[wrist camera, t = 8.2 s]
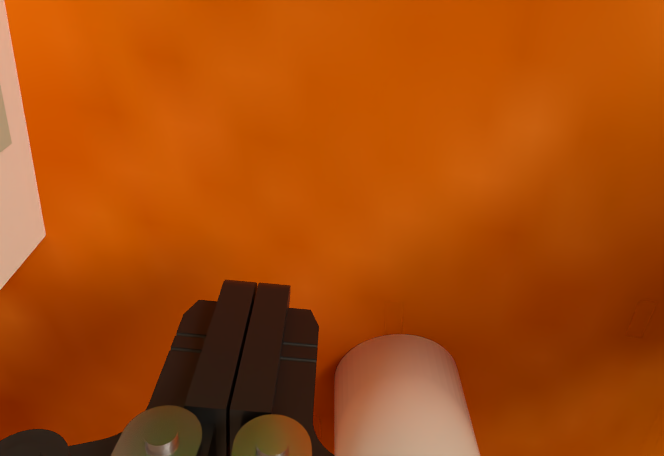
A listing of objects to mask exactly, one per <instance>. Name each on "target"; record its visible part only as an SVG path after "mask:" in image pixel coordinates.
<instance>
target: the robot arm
mask: <svg viewBox="0 0 664 456" xmlns="http://www.w3.org/2000/svg"><path fill="white" fill-rule="evenodd" d="M289 301H290V285H279V284H268V283H259V284H258V288H257V283H256V282H245V281H234V280H225V281H224V283H223V285H222V289H221V292H220V295H219V298H218V301H217V302H216V301H205V300H198V301H197V302H196V303H195V304H194V305H193V306H192V307H191V308H190V309H189V310H188V311H187V312H186V313H185V314H184V315H183V317H182V320H181V322H180V325H179V328H178V330H177V335H176V336H175V338H174V340H173V343H172V346H171V350H170V351H169V353H168V356H167V358H166V361H165V364H164V366H163V369H162V371H161V374H160V377H159V379H158V382H157V384H156V387H155V389H154V392H153V395H152V397H151V400H150V402H149V405H148V407H147V409H146V411H144V412H142V413H140V414H139V415H137V416H136V417H135V418H134V419H132V420H131V421H130V422H129V424H128V425H127V426H126V427H125V429H124V431H123V432H121V433H119V434H117V435H115V436H112V437H110V438H106V439H102V440H98V441H93V442H88V443H83V444H78V445H73V446H67V443H66V442H65V440H64V439H63V438H62V437H61V436H60V435H59V434H57V433H55V432H53V431H49V430H44V429H32V430H26V431H22V432H18V433H16V434H13V435H11V436H9V437H7V438H5V439H3V440H1V441H0V456H335V455H333V454H332V453H330V452H329V451H328V450H327V449H326V448H324V446H323V445H322V444H321V443H320V441H319V440H318V438H317V436H316V434H315V431H314V427H313V407H314V392H315V377H316V361H317V346H318V332H319V326H318V324H317V322H316V320H315V318H314V316H313V314H312V312H311V310H306V309H295V308H289Z"/></svg>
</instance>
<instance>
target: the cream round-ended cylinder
mask: <svg viewBox="0 0 664 456" xmlns="http://www.w3.org/2000/svg"><path fill="white" fill-rule="evenodd" d="M334 443H335V456H480V453H479V449H478V446H477V442H476V438H475V434H474V430H473V427H472V423H471V419H470V415H469V411H468V408H467V404H466V400H465V396H464V392H463V389H462V385H461V381H460V377H459V373H458V370H457V366H456V363H455V361H454V359H453V357H452V356H451V355H450V353H449V352H448V351H447V350H446V349H444V348H443V347H442V346H440V345H439V344H437V343H436V342H434V341H432V340H429V339H426V338H424V337H420V336H415V335H408V334H392V335H385V336H380V337H376V338H372V339H370V340H367V341H365V342H363V343H361V344H359V345H357V346H356V347H354V348H353V349H351V350H350V351H349V352H348V353H347V354H346V355H345V356H344V357H343V358H342V359H341V361H340V362H339V364H338V366H337V368H336V372H335V377H334Z"/></svg>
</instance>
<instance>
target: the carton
mask: <svg viewBox="0 0 664 456" xmlns="http://www.w3.org/2000/svg"><path fill="white" fill-rule="evenodd" d="M45 236H46V234H45V228H44V223H43V217H42V211H41V206H40V200H39V194H38V189H37V183H36V177H35V172H34V166H33V161H32V155H31V149H30V144H29V138H28V132H27V127H26V121H25V115H24V110H23V104H22V98H21V93H20V87H19V82H18V76H17V70H16V65H15V59H14V53H13V48H12V42H11V36H10V31H9V25H8V20H7V14H6V8H5V3H4V0H0V290H1V288H2V287H3V286H4V285H5V284H6V282H7V281H8V280H9V279H10V278H11V276H12V275H13V274H14V273H15V272H16V270H17V269H18V268H19V267H20V266H21V264H22V263H23V262H24V261H25V260H26V258H27V257H28V256H29V255H30V254H31V252H32V251H33V250H34V249H35V248H36V246H37V245H38V244H39V243H40V242H41V240H42V239H43V238H44V237H45Z"/></svg>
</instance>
